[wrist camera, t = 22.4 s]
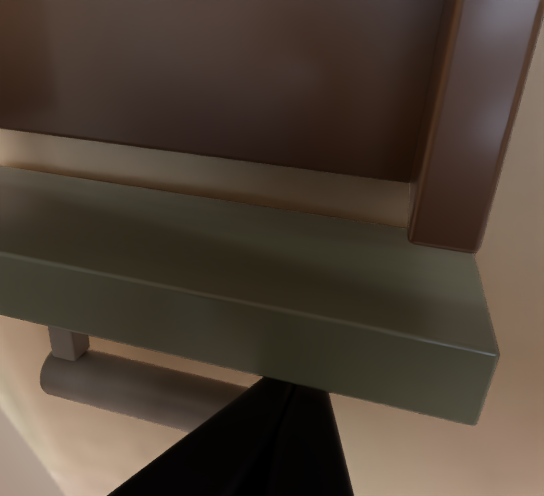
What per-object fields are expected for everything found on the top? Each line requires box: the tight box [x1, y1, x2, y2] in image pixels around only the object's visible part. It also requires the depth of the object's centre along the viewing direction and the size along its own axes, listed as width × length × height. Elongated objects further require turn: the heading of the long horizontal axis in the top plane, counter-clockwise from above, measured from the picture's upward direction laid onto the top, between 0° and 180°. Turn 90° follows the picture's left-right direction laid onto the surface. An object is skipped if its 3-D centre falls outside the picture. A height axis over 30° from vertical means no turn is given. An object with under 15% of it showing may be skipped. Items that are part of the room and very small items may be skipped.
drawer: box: [0, 0, 544, 433], centre depth 7 cm, size 16×11×4 cm
